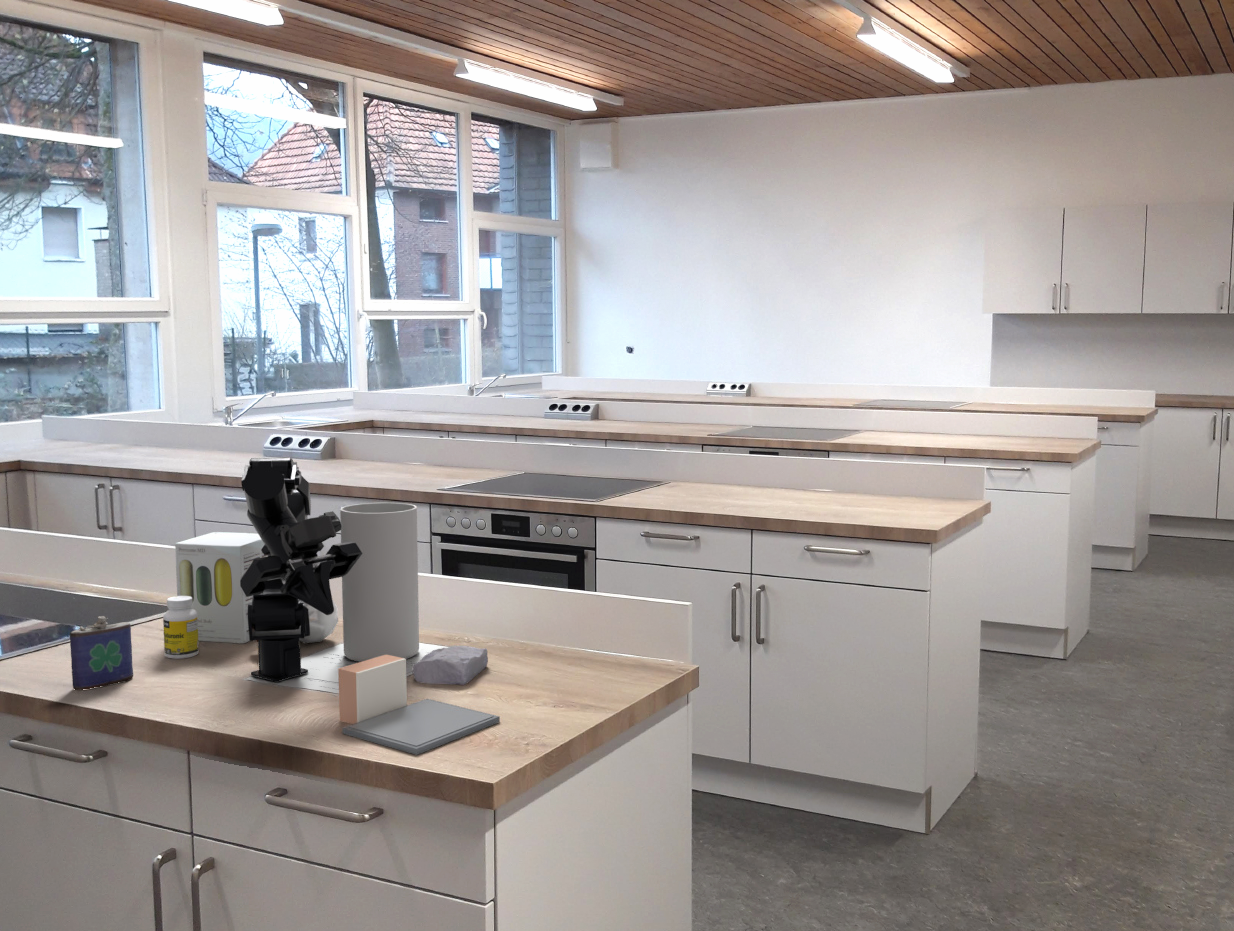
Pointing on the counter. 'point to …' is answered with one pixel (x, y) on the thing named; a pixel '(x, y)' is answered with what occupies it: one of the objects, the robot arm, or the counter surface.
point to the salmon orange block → (372, 688)
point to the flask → (101, 654)
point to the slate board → (421, 726)
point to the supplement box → (218, 582)
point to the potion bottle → (320, 624)
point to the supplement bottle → (180, 628)
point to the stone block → (451, 665)
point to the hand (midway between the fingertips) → (330, 613)
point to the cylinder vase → (381, 581)
